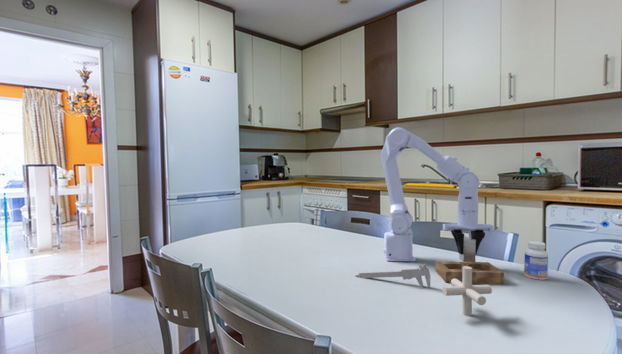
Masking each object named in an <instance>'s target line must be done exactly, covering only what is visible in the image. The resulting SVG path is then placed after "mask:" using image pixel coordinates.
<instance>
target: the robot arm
mask: <svg viewBox="0 0 622 354" xmlns="http://www.w3.org/2000/svg"><path fill="white" fill-rule="evenodd" d="M407 148H410V149H415V150H418V151H419V152H420V153H422V154H423V155H424V156H425V157H427V158H428V159H430V160H431V161H432V162H434V163H435V164H436V166H437V167H436V169H437V171H439V172H440V173H441V174H442V175H444V176H445V177H446V178H448V179H449V180H450V181H452V182H453V183H457V186H458V188H459V189H458V190H459V191H458V196H457V222H456V223H455V222H454V223H453V222H452V223H442V230H443V231H444V232H448V231H450V232H451V233H450V234H451V235H452V236H453V239H454V241H455V244H456V249H457V253H458V254H463V240H464V237H465V234H464V233H463V232H467V231H469V232H470V237H472V238H474V239H475V240H476V252H475V256H477V255H478V251H479V247H480V245H481V242H482V241H483V239H484V238H485V236H486V232H490V233H491V232H494V225H493V224H490V223H487V224H486V223H479V195H478V194H479V189H478V188H479V186H480V184H481V183H480V180H479V177H478V176H477V175H476V174H475V173H474V172H471V171H470V170H471V169H470V167H468V166H467V167H465V166H464V165H463V164H462V163H460V162H459V161H458V158H457V157H456V156H451V155H445V156H444V155H442V154H441V153H440V152H439V151H437V150H436V149H435V148H434V147H432V146H431V145H430V144H429V143H427V142H426V141H425V140H424V139H423V138H421V137H420V136H417V135H416V134H414V133H412V132H410V131H409V130H406V129H405V128H403V127H401V126H400V127H399V126H397V127H394V128H392V129H391V131H389V133H388V134H387V135H386V136H385V142H384V144H383V147H382V150H381V152H380V160H381V166H382V168H383V169H382V170H383V174H384V179H385V184H386V188H387V193H388V199H389V203H390V212H389V213H390V219H389V227H390V231H386V232H384V234H383V256H384V258H385V259H386V261H387V262H417V260H416V258H415V257H414V256H413V235H414V234H413V230H412V228H411V227H412V225H413V221H414V220H413V216H412V214H411V213H410V211H409V208H408V205H407V203H406V200H405V194H404V190H403V186H402V181H401V176H400V171H399V167H398V161H397V158H398V156H399V155H400V153H402V151H404V150H405V149H407Z"/></svg>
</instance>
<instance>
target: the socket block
mask: <svg viewBox="0 0 622 354" xmlns="http://www.w3.org/2000/svg"><path fill="white" fill-rule="evenodd" d="M463 266H468V267H471V268H472V284H489V285H490V284H491V285H492V284H495V285H496V284H498V285H499V284H502V285H505V272H504V271H502V270H501V269H499V268H498V267H497V266H495V265H493V264H492V263H490V262H488V261H486V262H485V261H475V262H463V261H438V260H437V261H435V272H436V274H437V275H438V276H439V277H440V278H441V279H442V280H443V281H444V282H445V284H446V283H448V284H451V280H452V279H454V278H456V279H458V280H459V281H461V282H462V278H463Z"/></svg>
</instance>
